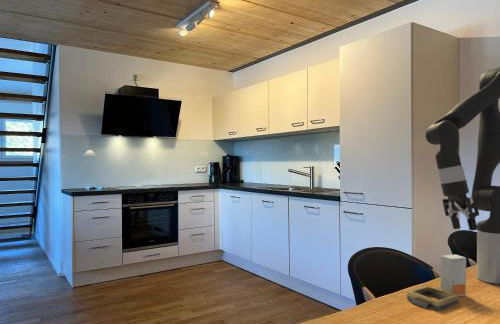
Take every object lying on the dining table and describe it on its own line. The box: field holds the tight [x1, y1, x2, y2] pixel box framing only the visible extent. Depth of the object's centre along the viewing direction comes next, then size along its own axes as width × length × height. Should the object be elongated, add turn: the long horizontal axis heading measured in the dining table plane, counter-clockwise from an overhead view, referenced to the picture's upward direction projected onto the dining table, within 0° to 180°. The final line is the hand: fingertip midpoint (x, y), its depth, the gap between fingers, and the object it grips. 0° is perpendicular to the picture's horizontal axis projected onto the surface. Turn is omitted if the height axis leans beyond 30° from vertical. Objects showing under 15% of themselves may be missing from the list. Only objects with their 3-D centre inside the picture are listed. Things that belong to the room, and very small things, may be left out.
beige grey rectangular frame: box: [406, 285, 460, 312], centre depth 109 cm, size 13×10×2 cm
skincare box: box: [440, 254, 467, 297], centre depth 114 cm, size 6×4×12 cm
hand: (465, 229), depth 119 cm, fingers open, 8 cm apart
